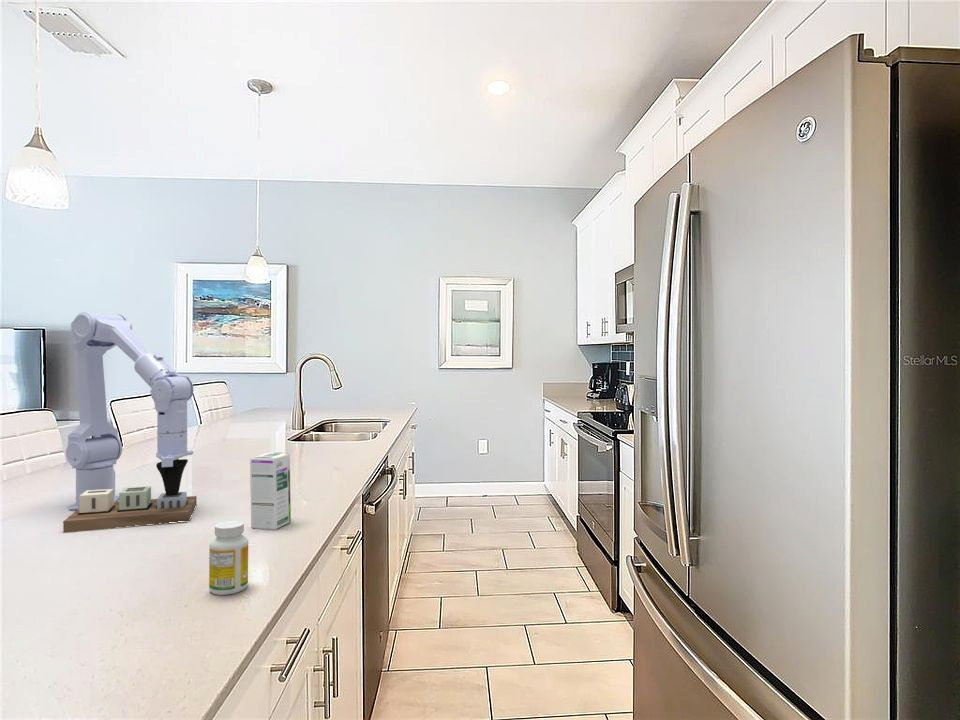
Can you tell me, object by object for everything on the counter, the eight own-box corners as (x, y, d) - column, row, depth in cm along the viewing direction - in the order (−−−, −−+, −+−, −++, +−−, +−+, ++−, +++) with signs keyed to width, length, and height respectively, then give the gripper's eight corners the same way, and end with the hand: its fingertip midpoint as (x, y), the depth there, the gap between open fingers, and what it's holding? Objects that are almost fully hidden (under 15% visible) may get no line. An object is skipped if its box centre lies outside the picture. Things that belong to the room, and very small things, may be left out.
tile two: (124, 504, 126) (124, 487, 126) (151, 502, 127) (151, 485, 127) (118, 510, 121) (118, 492, 121) (146, 508, 122) (146, 490, 122)
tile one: (86, 506, 123) (86, 489, 123) (113, 505, 125) (113, 487, 125) (79, 513, 118) (79, 495, 118) (107, 511, 120) (107, 493, 120)
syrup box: (276, 530, 116) (276, 457, 116) (249, 528, 117) (249, 456, 117) (291, 522, 121) (291, 452, 121) (265, 520, 123) (265, 451, 123)
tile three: (161, 509, 128) (161, 492, 128) (186, 507, 130) (186, 491, 130) (157, 515, 123) (157, 498, 123) (183, 513, 125) (183, 496, 125)
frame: (84, 513, 127) (84, 503, 127) (196, 505, 134) (196, 495, 134) (63, 532, 114) (63, 521, 114) (188, 521, 121) (188, 511, 121)
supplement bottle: (219, 599, 83) (219, 532, 83) (202, 589, 87) (202, 524, 87) (255, 587, 87) (255, 523, 87) (237, 578, 91) (237, 517, 91)
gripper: (188, 435, 121) (188, 500, 121) (196, 427, 135) (196, 486, 135) (150, 436, 119) (150, 503, 119) (162, 428, 132) (162, 488, 132)
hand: (172, 494), depth 126 cm, fingers closed, pressing on tile three
